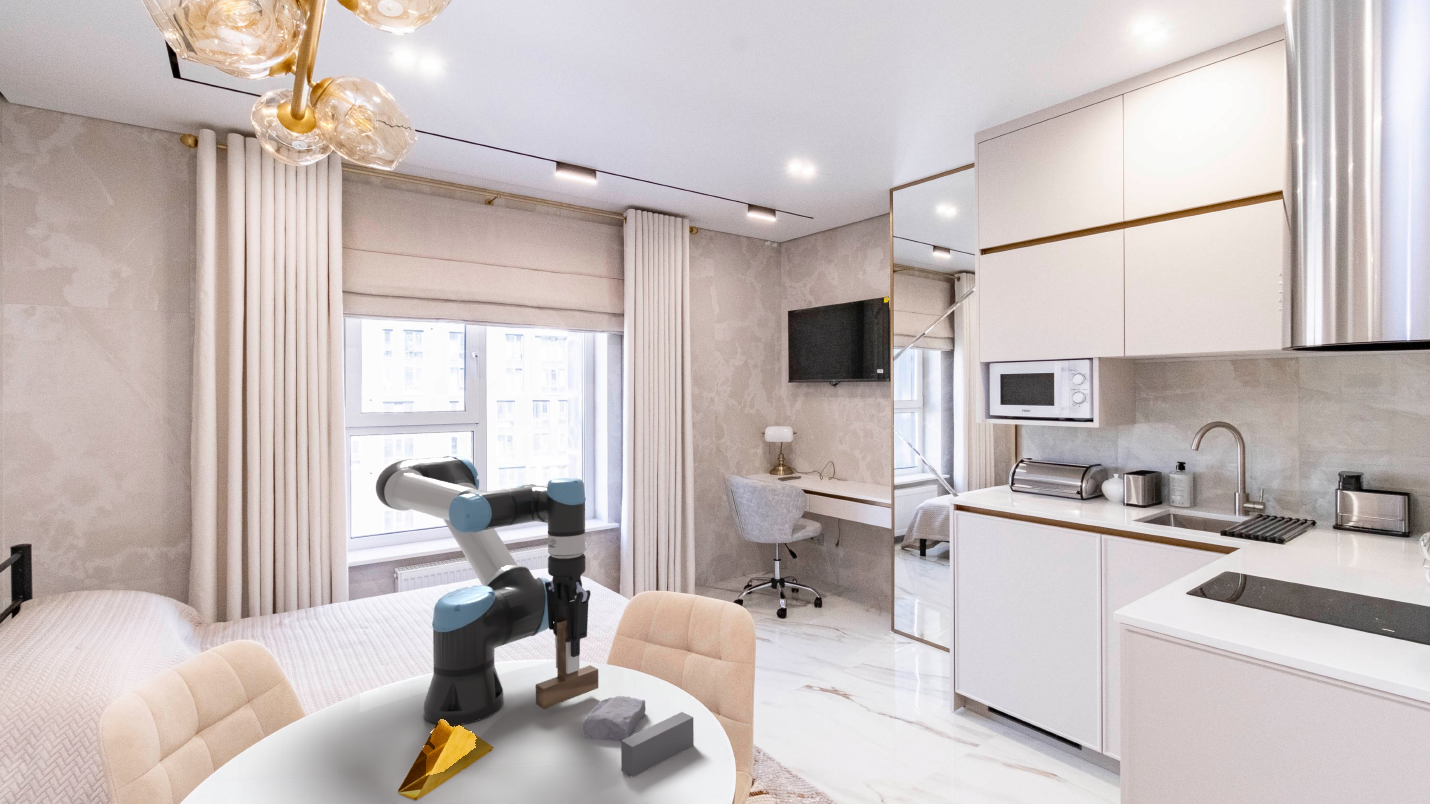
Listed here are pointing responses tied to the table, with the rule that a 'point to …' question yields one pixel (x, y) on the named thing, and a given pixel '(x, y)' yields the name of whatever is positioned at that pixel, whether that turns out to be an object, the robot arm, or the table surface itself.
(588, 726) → the stone block
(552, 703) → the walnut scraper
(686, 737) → the block
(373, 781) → the table surface
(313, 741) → the table surface
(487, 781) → the table surface
